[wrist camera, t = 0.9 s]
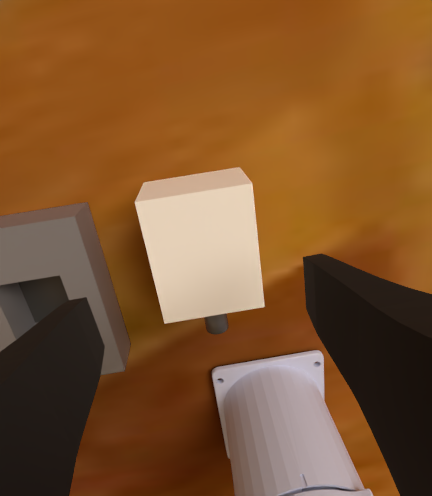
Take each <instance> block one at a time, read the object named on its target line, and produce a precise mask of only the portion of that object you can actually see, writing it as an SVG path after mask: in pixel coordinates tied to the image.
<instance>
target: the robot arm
mask: <svg viewBox="0 0 432 496" xmlns="http://www.w3.org/2000/svg"><path fill="white" fill-rule="evenodd" d="M303 264H304V279H305V295H306V309H307V312H308V314H309V316H310V319H311V321H312V323H313V326H314V328H315V330H316V332H317V334H318V336H319V338H320V339H321V341H322V343H323V344H324V346H325V348H326V349H327V351H328V353H329V354H330V356H331V358H332V359H333V361H334V363H335V364H336V366H337V367H338V369H339V371H340V372H341V374H342V376H343V377H344V379H345V380H346V382H347V384H348V385H349V387H350V389H351V390H352V392H353V394H354V396H355V398H356V400H357V401H358V403H359V405H360V407H361V410H362V412H363V414H364V416H365V418H366V420H367V422H368V424H369V426H370V428H371V431H372V433H373V435H374V437H375V439H376V441H377V444H378V446H379V448H380V450H381V452H382V455H383V457H384V459H385V461H386V463H387V466H388V468H389V470H390V473H391V475H392V477H393V480H394V482H395V484H396V487H397V489H398V491H399V493H400V496H432V294H429V293H425V292H421V291H418V290H414V289H411V288H408V287H405V286H402V285H399V284H396V283H393V282H390V281H387V280H385V279H382V278H379V277H377V276H374V275H372V274H369V273H367V272H364V271H362V270H360V269H357V268H355V267H353V266H350V265H348V264H346V263H343V262H341V261H339V260H337V259H334V258H332V257H329V256H327V255H324V254H317V255H312V256H306V257H303ZM104 349H105V346H104V343H103V340H102V338H101V335H100V332H99V329H98V327H97V324H96V321H95V319H94V316H93V313H92V311H91V308H90V305H89V303H88V300H87V297H84V298H79V299H73V300H68V301H66V302H65V303H63V304H62V305H60V306H59V307H57V308H56V309H55V310H53V311H52V312H51V313H50V314H48V315H47V316H46V317H44V318H43V319H42V320H41V321H39V322H38V323H37V324H36V325H34V326H33V327H32V328H31V329H29V330H28V331H27V332H26V333H24V334H23V335H22V336H21V337H19V338H18V339H17V340H15V341H14V342H13V343H11V344H10V345H9V346H7V347H6V348H5V349H3V350H2V351H1V352H0V496H69V493H70V487H71V482H72V477H73V472H74V467H75V462H76V457H77V453H78V449H79V445H80V441H81V438H82V434H83V431H84V428H85V425H86V421H87V418H88V415H89V412H90V408H91V405H92V402H93V399H94V395H95V392H96V389H97V385H98V382H99V378H100V375H101V370H102V364H103V357H104ZM315 362H317V363H315ZM219 378H222V379H221V380H218V379H219ZM212 379H213V384H214V389H215V394H216V400H217V405H218V410H219V415H220V420H221V426H222V431H223V436H224V441H225V446H226V452H227V456H228V458H229V459H230V461H231V468H232V476H233V484H234V492H235V496H373V494H372V492H371V490H370V489H364V487H363V484H362V482H361V480H360V478H359V476H358V474H357V471H356V469H355V467H354V465H353V463H352V461H351V458H350V456H349V454H348V452H347V450H346V447H345V445H344V443H343V441H342V439H341V437H340V434H339V432H338V430H337V428H336V426H335V424H334V421H333V419H332V417H331V415H330V413H329V411H328V408H327V406H326V404H325V402H324V357H323V354H322V353H321V352H320V351H318V350H314V351H308V352H302V353H296V354H290V355H284V356H279V357H273V358H267V359H261V360H255V361H250V362H244V363H238V364H232V365H226V366H220V367H216V368H214V369H213V370H212Z"/></svg>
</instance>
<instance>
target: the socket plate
mask: <svg viewBox="0 0 432 496" xmlns="http://www.w3.org/2000/svg"><path fill="white" fill-rule="evenodd" d="M84 297H87V300H88V303H89V305H90V308H91V311H92V313H93V316H94V319H95V321H96V324H97V327H98V329H99V332H100V335H101V338H102V340H103V343H104V346H105V349H104V357H103V364H102V370H101V375H105V374H110V373H116V372H122V371H125V369H126V364H127V359H128V355H129V350H130V345H131V343H130V340H129V337H128V334H127V330H126V327H125V324H124V320H123V317H122V314H121V311H120V307H119V304H118V301H117V297H116V294H115V291H114V288H113V284H112V281H111V278H110V274H109V271H108V268H107V265H106V261H105V258H104V255H103V251H102V248H101V245H100V242H99V238H98V235H97V232H96V228H95V225H94V222H93V219H92V215H91V212H90V209H89V205H88V202H86V203H80V204H73V205H67V206H61V207H55V208H48V209H42V210H36V211H30V212H24V213H17V214H11V215H5V216H0V352H1V351H2V350H3V349H5V348H6V347H7V346H9V345H10V344H11V343H13V342H14V341H15V340H17V339H18V338H19V337H21V336H22V335H23V334H24V333H26V332H27V331H28V330H29V329H31V328H32V327H33V326H34V325H36V324H37V323H38V322H39V321H41V320H42V319H43V318H44V317H46V316H47V315H48V314H50V313H51V312H52V311H53V310H55V309H56V308H57V307H59V306H60V305H62V304H63V303H65V302H66V301H68V300H73V299H79V298H84Z"/></svg>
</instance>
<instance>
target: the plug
mask: <svg viewBox="0 0 432 496" xmlns="http://www.w3.org/2000/svg"><path fill="white" fill-rule="evenodd" d="M135 206H136V210H137V214H138V218H139V222H140V226H141V230H142V234H143V238H144V242H145V246H146V250H147V254H148V258H149V262H150V266H151V271H152V275H153V279H154V283H155V287H156V291H157V295H158V299H159V303H160V307H161V311H162V315H163V319H164V323H165V324H166V323H172V322H178V321H184V320H190V319H196V318H202V317H204V319H205V324H206V329H207V331H208V332H209V333H211V334H220V333H223V332H225V331H226V330H227V329H228V321H227V314H226V313H231V312H237V311H243V310H249V309H255V308H261V307H265V306H264V296H263V286H262V276H261V266H260V256H259V246H258V236H257V226H256V216H255V205H254V195H253V185H252V182H251V181H250V180H249V179H248V177H247V176H246V175H245V173H244V172H243V171H242V170H241V168H240V167H238V168H231V169H225V170H219V171H213V172H206V173H200V174H194V175H188V176H181V177H175V178H169V179H163V180H156V181H150V182H144V183H143V185H142V188H141V190H140V192H139V194H138V196H137V198H136V200H135Z"/></svg>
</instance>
